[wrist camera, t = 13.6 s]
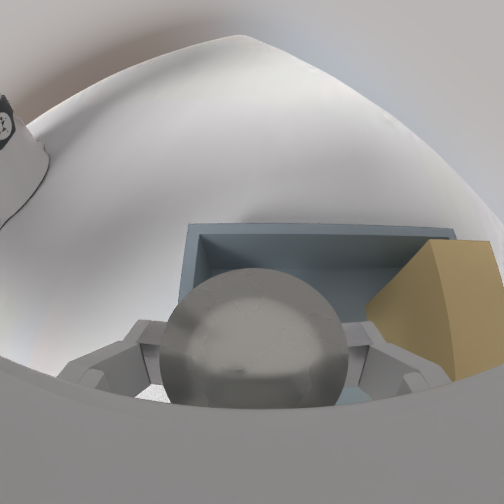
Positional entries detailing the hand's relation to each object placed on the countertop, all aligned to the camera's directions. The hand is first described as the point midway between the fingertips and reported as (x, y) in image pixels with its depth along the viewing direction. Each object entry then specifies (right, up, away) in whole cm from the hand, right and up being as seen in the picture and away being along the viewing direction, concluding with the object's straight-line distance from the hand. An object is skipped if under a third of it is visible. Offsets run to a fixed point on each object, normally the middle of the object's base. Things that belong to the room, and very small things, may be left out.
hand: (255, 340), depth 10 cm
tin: (0, -6, +8) cm, 10 cm away
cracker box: (+11, -4, +9) cm, 15 cm away
